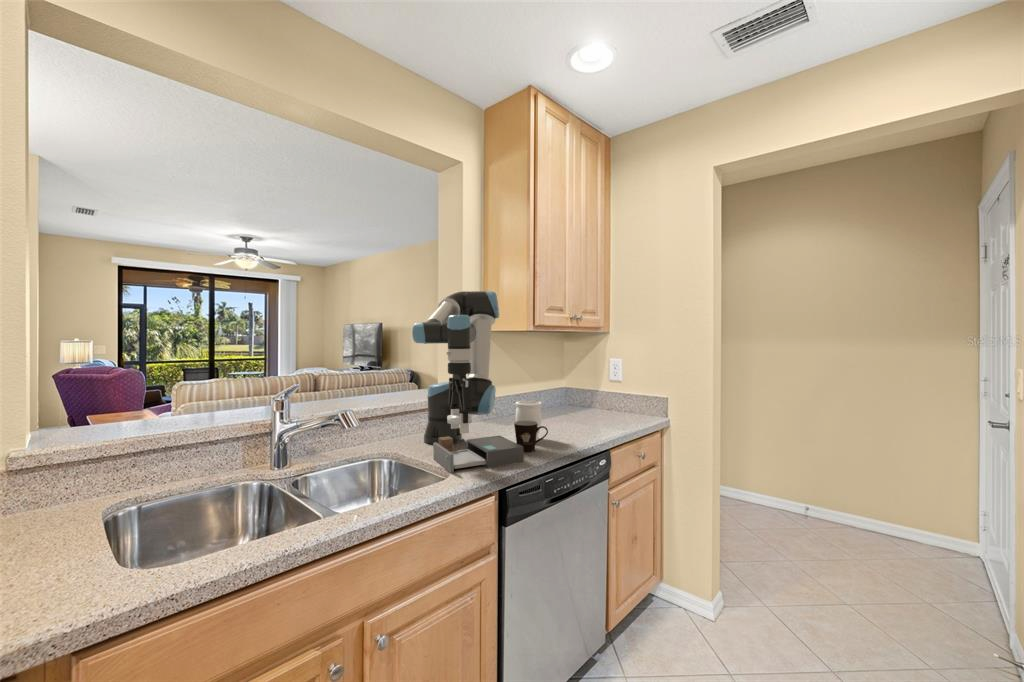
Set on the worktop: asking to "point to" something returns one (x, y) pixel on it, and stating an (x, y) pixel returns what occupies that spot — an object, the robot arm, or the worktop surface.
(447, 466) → the tray
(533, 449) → the coffee mug
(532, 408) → the jar
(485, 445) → the housing
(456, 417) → the disc
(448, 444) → the brown wooden block
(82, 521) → the worktop surface
